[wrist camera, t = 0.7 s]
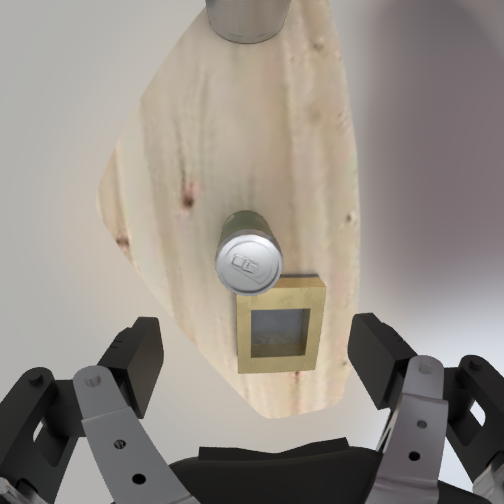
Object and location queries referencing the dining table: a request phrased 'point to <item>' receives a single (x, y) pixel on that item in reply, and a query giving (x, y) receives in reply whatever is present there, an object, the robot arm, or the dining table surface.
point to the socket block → (281, 326)
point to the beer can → (248, 255)
